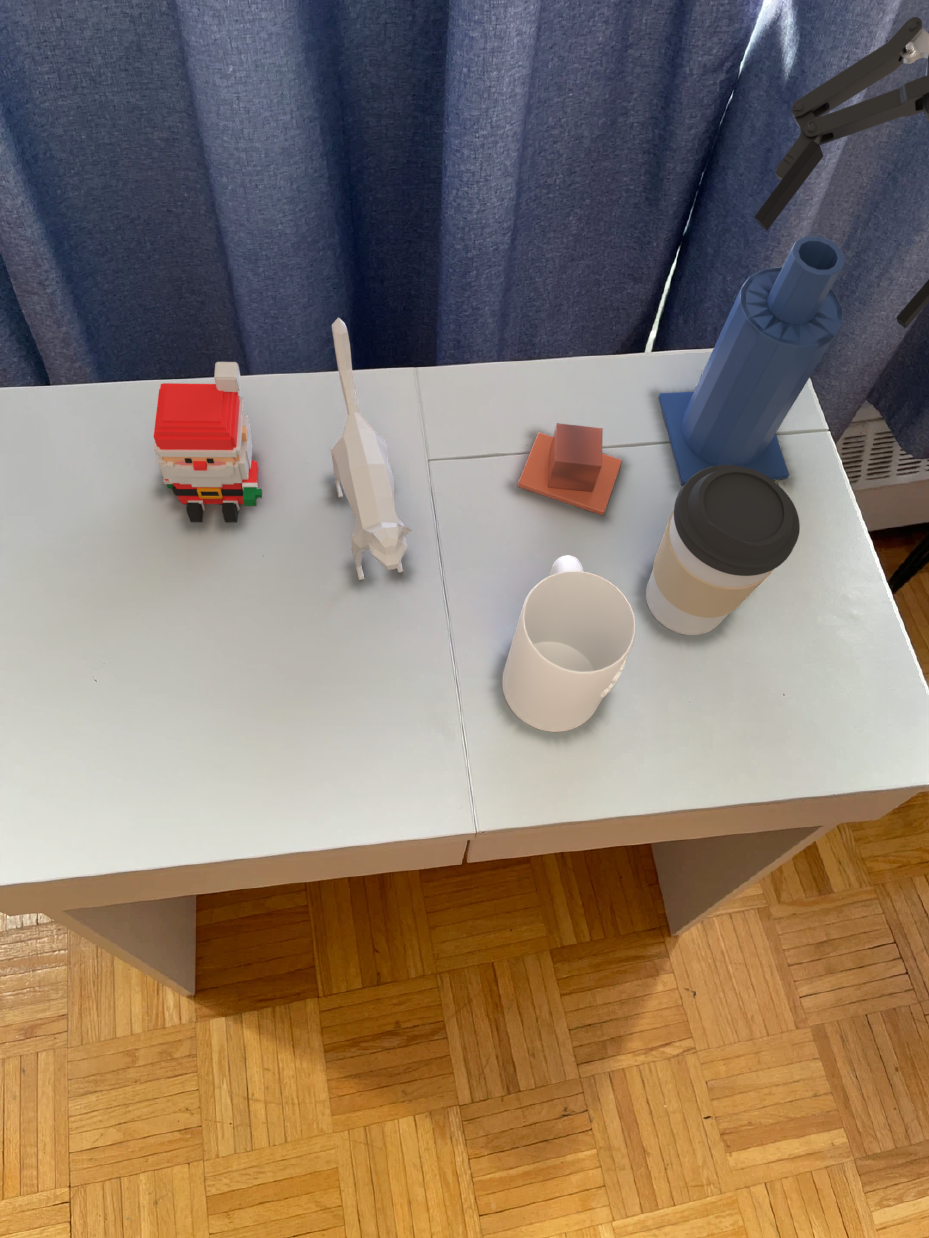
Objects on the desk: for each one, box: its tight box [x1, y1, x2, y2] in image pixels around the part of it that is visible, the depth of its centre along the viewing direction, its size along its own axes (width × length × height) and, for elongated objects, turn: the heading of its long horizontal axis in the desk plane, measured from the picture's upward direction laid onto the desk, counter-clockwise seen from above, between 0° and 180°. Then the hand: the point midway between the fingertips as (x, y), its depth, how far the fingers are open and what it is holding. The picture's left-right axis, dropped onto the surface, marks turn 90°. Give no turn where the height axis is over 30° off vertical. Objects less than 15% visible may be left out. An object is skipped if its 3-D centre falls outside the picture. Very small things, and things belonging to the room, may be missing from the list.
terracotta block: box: [548, 422, 604, 492], centre depth 81 cm, size 4×4×4 cm
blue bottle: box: [682, 235, 846, 467], centre depth 77 cm, size 8×8×21 cm
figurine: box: [153, 361, 263, 523], centre depth 75 cm, size 8×7×12 cm
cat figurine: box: [330, 317, 413, 581], centre depth 74 cm, size 4×20×14 cm, turn 14°
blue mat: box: [658, 391, 790, 486], centre depth 87 cm, size 10×10×1 cm
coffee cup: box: [645, 465, 801, 636], centre depth 72 cm, size 9×9×15 cm
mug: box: [501, 554, 637, 733], centre depth 70 cm, size 8×12×12 cm
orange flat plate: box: [517, 431, 623, 516], centre depth 83 cm, size 8×6×1 cm
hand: (828, 273), depth 73 cm, fingers open, 13 cm apart
